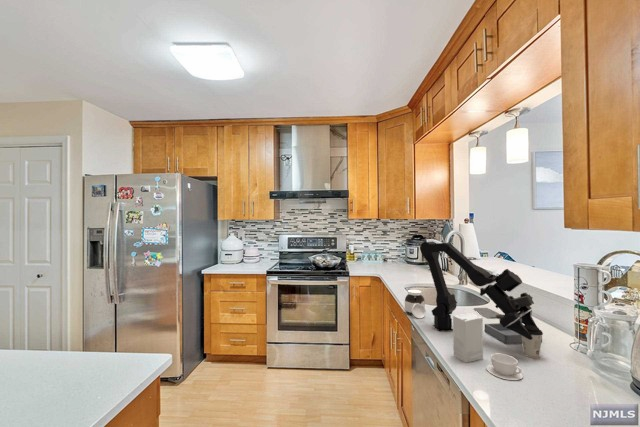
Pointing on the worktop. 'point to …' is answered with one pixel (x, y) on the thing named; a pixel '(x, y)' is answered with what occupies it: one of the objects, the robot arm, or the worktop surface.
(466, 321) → the skincare box
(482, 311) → the cleaver
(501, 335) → the tray
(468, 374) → the worktop surface
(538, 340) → the coffee cup
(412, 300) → the spread jar
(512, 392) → the worktop surface
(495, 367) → the teacup
